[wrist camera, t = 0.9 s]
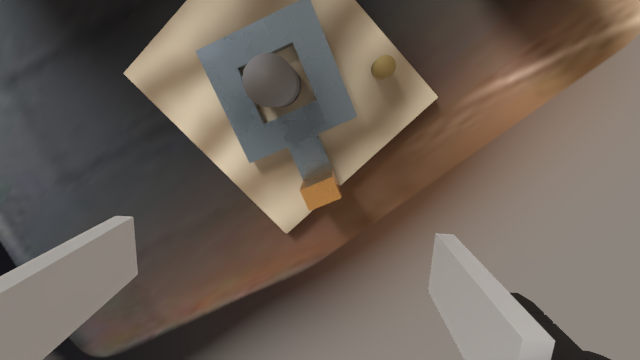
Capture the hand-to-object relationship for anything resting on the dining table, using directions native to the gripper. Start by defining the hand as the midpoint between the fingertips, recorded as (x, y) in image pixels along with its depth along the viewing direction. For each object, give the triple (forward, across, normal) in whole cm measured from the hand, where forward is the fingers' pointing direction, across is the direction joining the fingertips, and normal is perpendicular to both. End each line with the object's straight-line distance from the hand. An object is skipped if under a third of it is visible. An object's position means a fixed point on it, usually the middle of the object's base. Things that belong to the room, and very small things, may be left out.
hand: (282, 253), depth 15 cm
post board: (+20, -3, +8) cm, 22 cm away
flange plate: (+19, -2, +5) cm, 20 cm away
